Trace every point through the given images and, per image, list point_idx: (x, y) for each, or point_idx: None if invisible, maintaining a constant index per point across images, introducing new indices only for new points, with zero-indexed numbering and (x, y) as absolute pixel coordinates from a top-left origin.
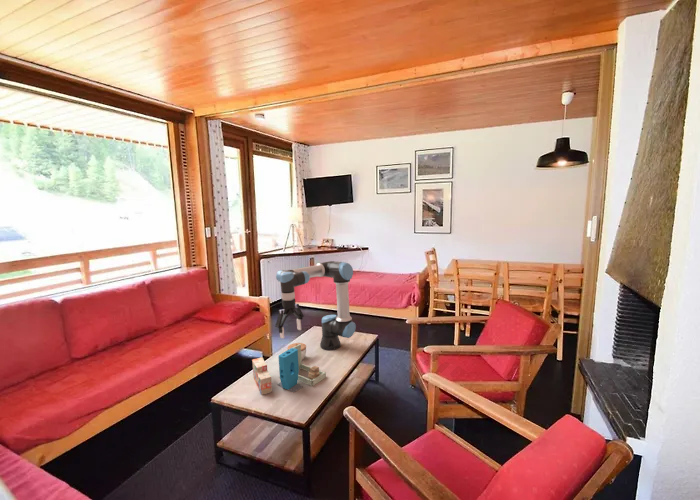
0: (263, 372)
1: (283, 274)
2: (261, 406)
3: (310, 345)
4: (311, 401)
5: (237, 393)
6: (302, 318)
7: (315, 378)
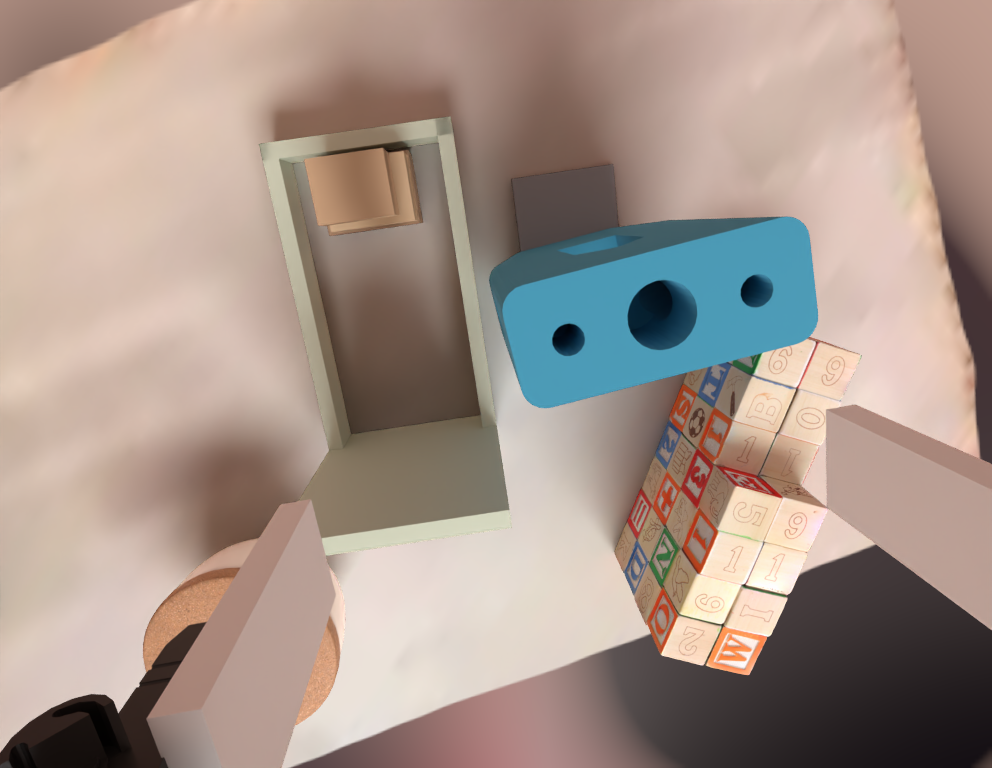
0: (766, 447)
1: None
2: (875, 196)
3: (53, 703)
4: None
5: None
6: (30, 725)
7: (396, 133)
